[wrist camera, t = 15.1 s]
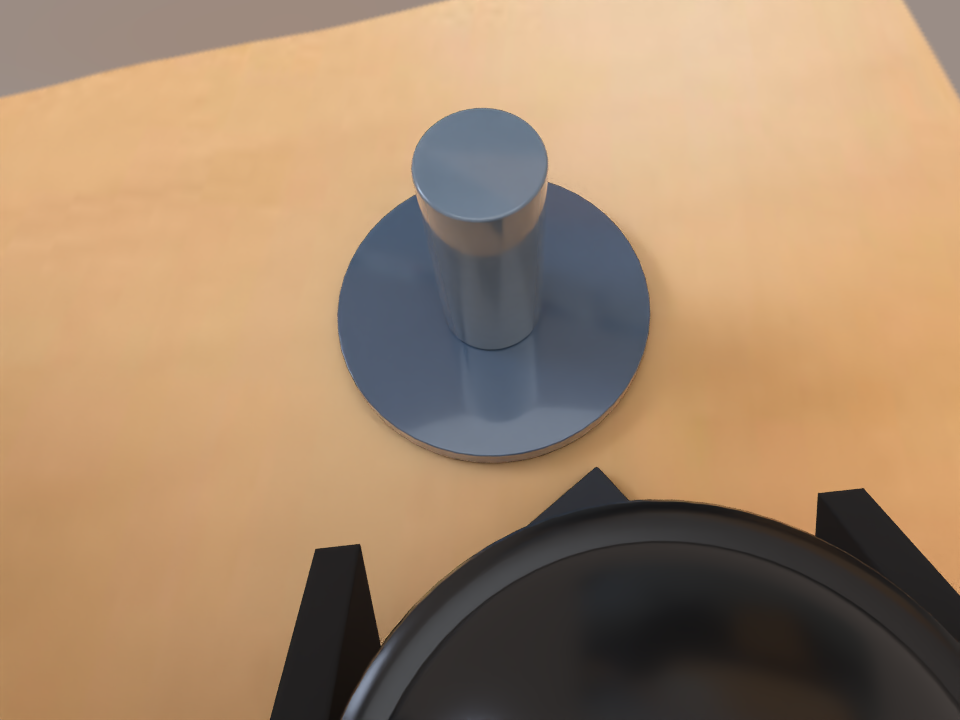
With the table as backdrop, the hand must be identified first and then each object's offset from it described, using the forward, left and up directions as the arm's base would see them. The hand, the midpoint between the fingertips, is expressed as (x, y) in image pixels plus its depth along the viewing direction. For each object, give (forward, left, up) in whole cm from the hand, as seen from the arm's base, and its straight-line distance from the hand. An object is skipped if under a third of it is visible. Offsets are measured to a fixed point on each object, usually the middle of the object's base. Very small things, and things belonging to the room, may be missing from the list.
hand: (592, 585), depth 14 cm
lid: (-9, +5, -9) cm, 14 cm away
